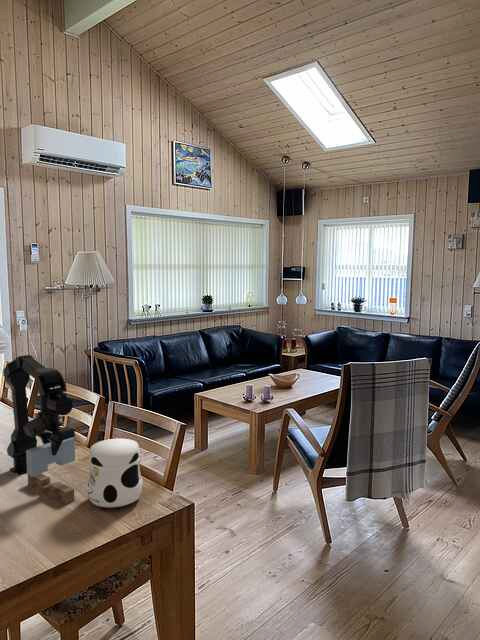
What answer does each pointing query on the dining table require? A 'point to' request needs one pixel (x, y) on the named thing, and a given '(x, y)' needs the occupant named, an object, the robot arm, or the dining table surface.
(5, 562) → the dining table surface
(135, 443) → the milk container
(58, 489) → the brown wooden bar
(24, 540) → the dining table surface
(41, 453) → the blue long flat plate
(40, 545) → the dining table surface
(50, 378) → the robot arm
